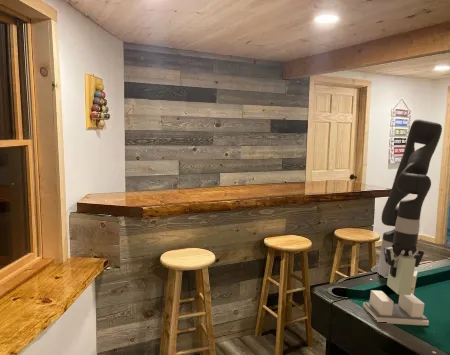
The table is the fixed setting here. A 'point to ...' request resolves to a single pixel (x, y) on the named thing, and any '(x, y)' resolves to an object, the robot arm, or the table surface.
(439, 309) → the table surface
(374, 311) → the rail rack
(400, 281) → the block
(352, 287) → the table surface
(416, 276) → the ink cartridge box
